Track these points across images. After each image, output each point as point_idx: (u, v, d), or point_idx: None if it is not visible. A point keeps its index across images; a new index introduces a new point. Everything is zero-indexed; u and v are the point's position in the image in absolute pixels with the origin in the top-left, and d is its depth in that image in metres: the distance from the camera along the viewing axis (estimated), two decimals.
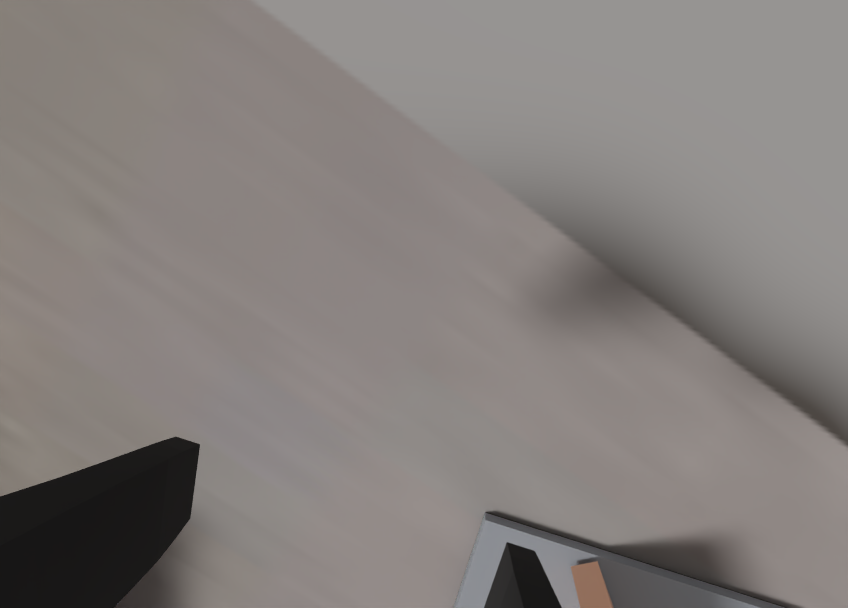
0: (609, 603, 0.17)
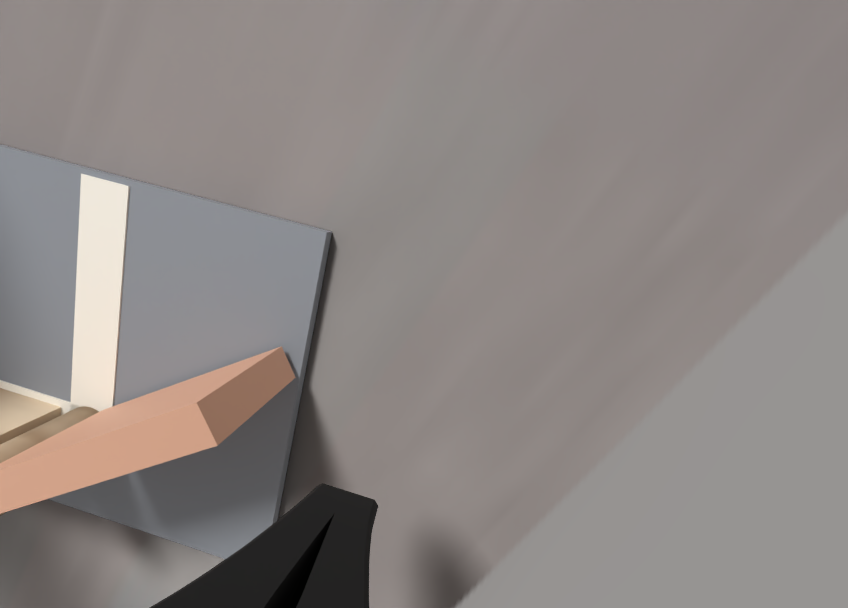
0: (264, 402, 0.13)
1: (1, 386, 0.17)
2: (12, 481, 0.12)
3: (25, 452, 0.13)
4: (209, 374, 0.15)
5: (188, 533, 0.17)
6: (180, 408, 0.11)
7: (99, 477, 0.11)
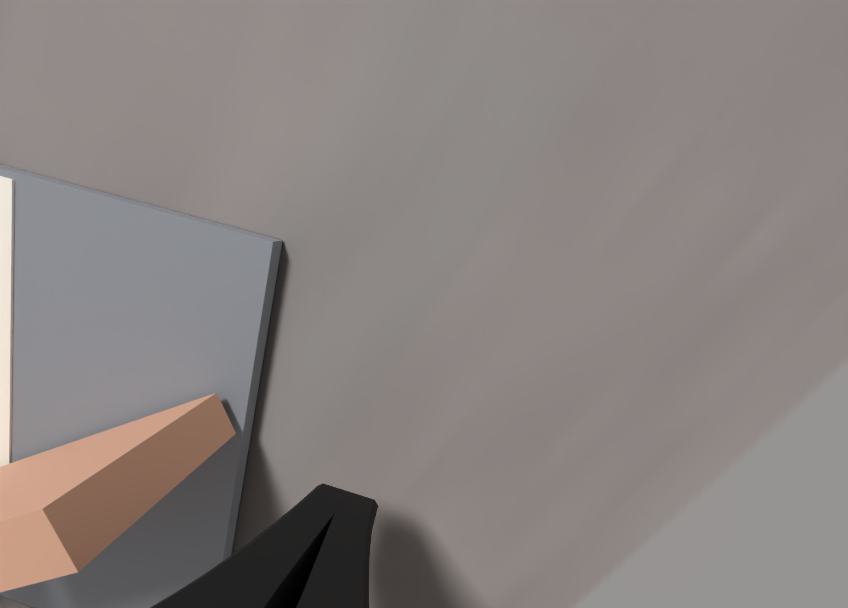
0: (179, 480, 0.09)
1: None
2: None
3: None
4: (119, 430, 0.11)
5: None
6: (20, 516, 0.07)
7: None
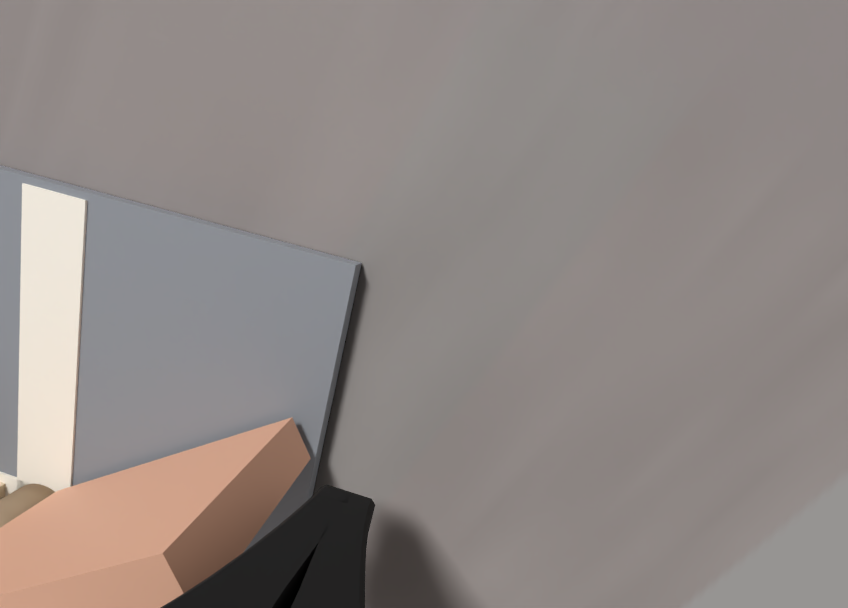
0: (269, 512, 0.09)
1: None
2: None
3: None
4: (194, 455, 0.11)
5: None
6: (137, 560, 0.07)
7: None
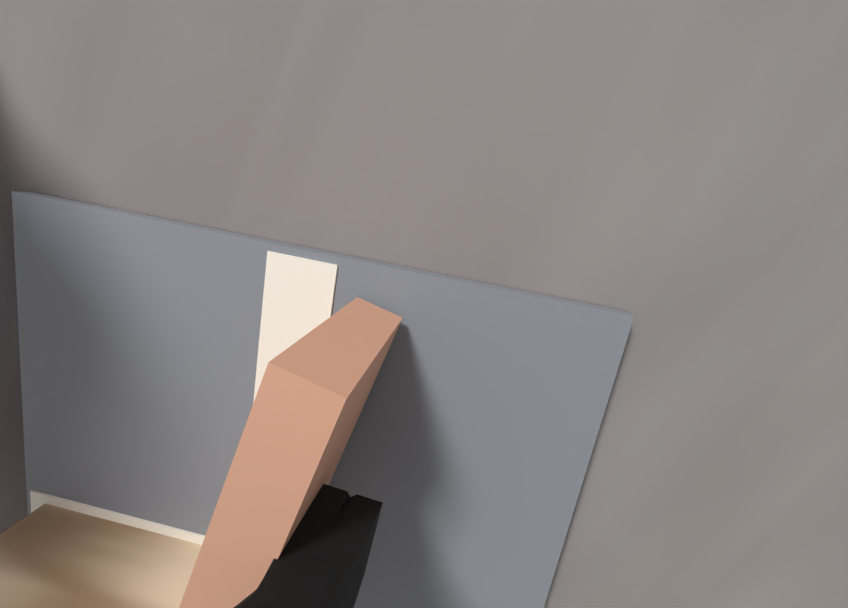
0: (381, 344, 0.08)
1: (143, 527, 0.13)
2: None
3: None
4: None
5: None
6: (258, 392, 0.06)
7: (256, 586, 0.07)
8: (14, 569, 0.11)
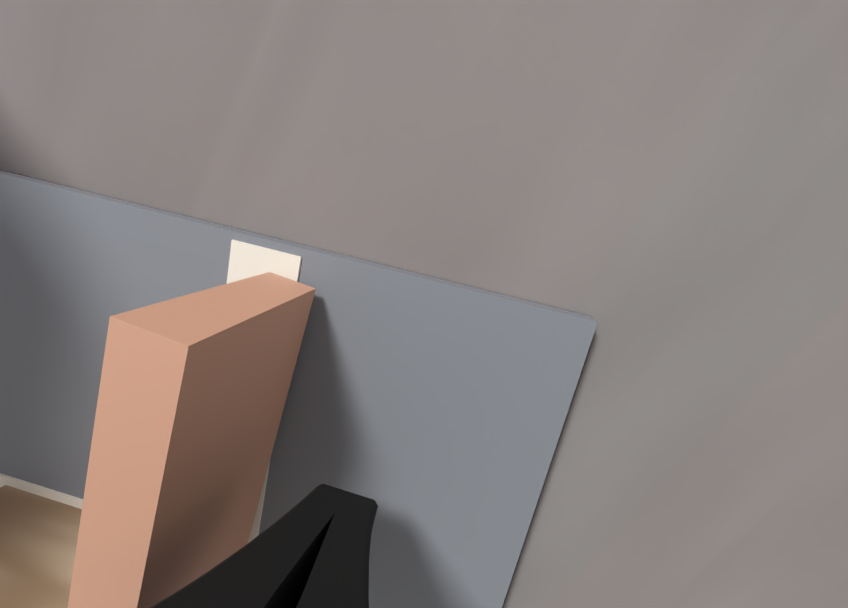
0: (270, 307, 0.08)
1: None
2: None
3: None
4: None
5: None
6: (106, 348, 0.06)
7: (137, 554, 0.07)
8: None
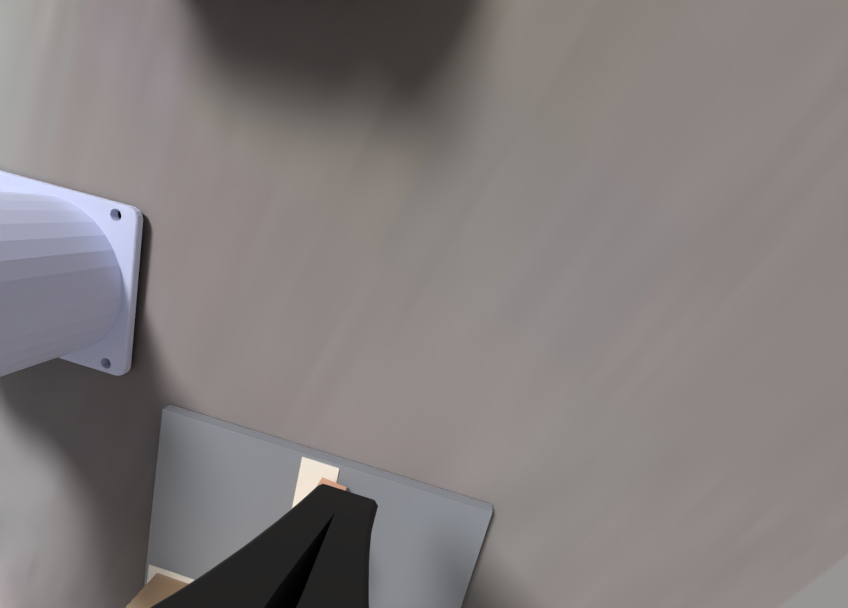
0: None
1: None
2: None
3: None
4: None
5: None
6: None
7: None
8: None
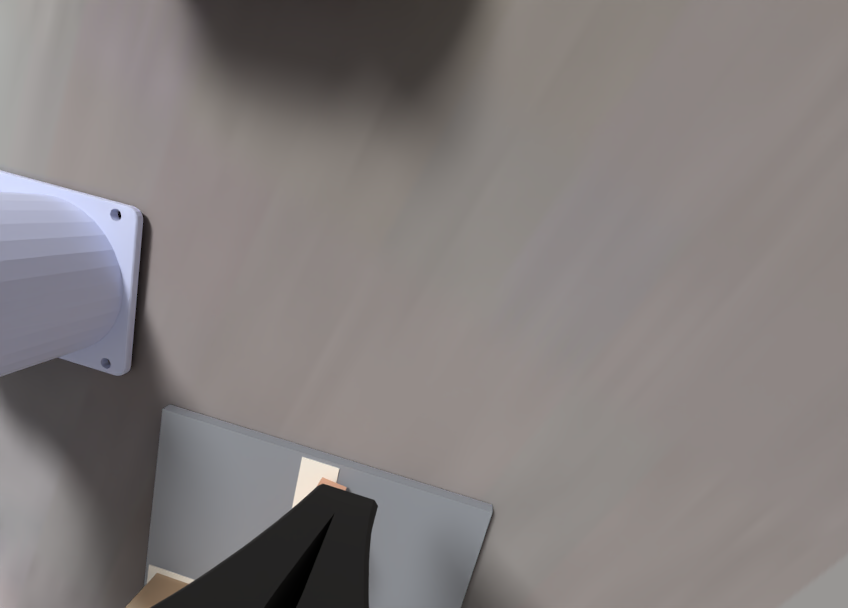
0: None
1: None
2: None
3: None
4: None
5: None
6: None
7: None
8: None
